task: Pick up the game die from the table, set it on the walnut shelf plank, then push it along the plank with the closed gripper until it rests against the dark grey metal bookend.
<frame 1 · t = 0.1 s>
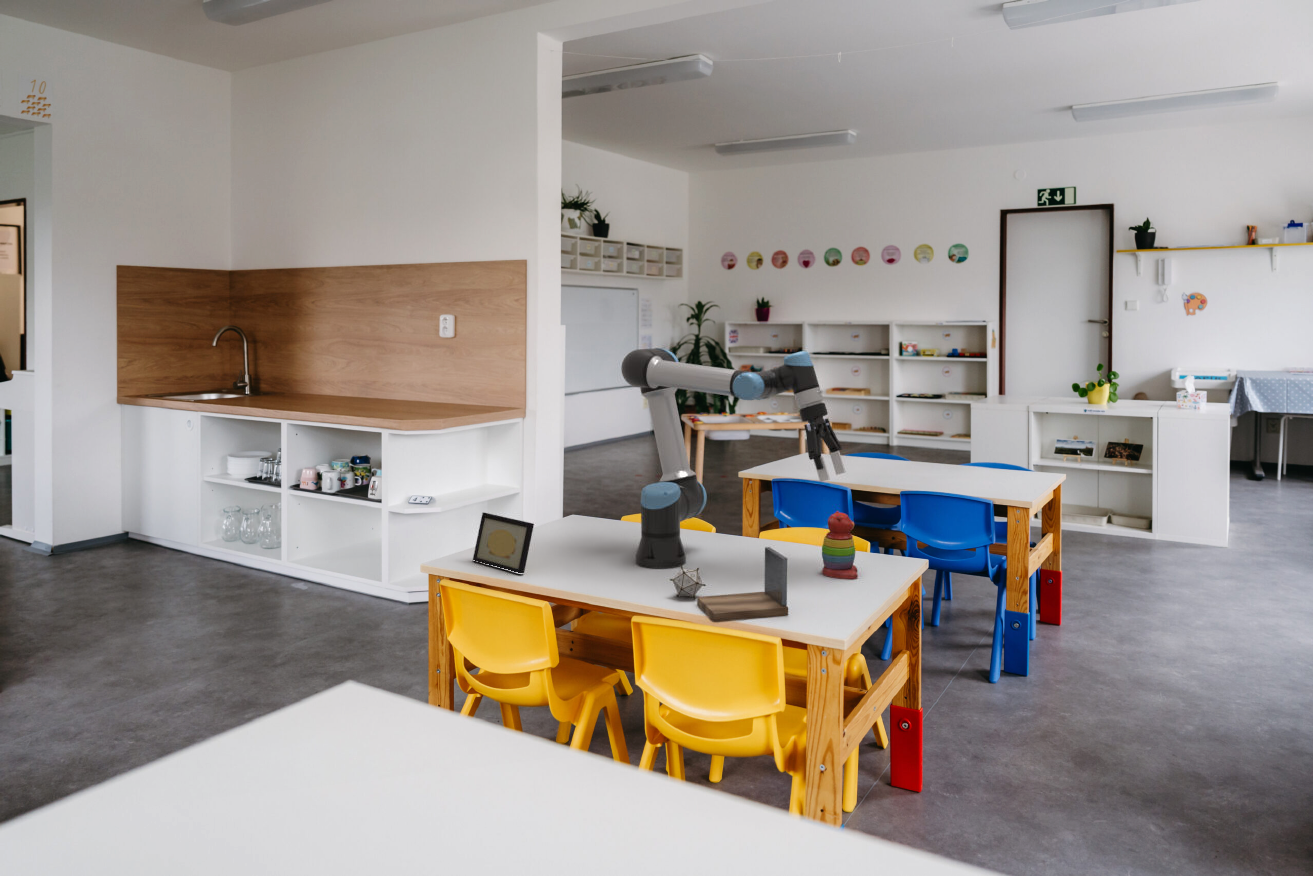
hand: (833, 477, 255), 28 cm above the table, fingers open, 13 cm apart
picture frame: (507, 566, 268), on the table
game die: (687, 597, 236), on the table
shelf plank: (741, 609, 225), on the table
stacking bear: (839, 574, 258), on the table
bookend: (775, 599, 227), resting on shelf plank
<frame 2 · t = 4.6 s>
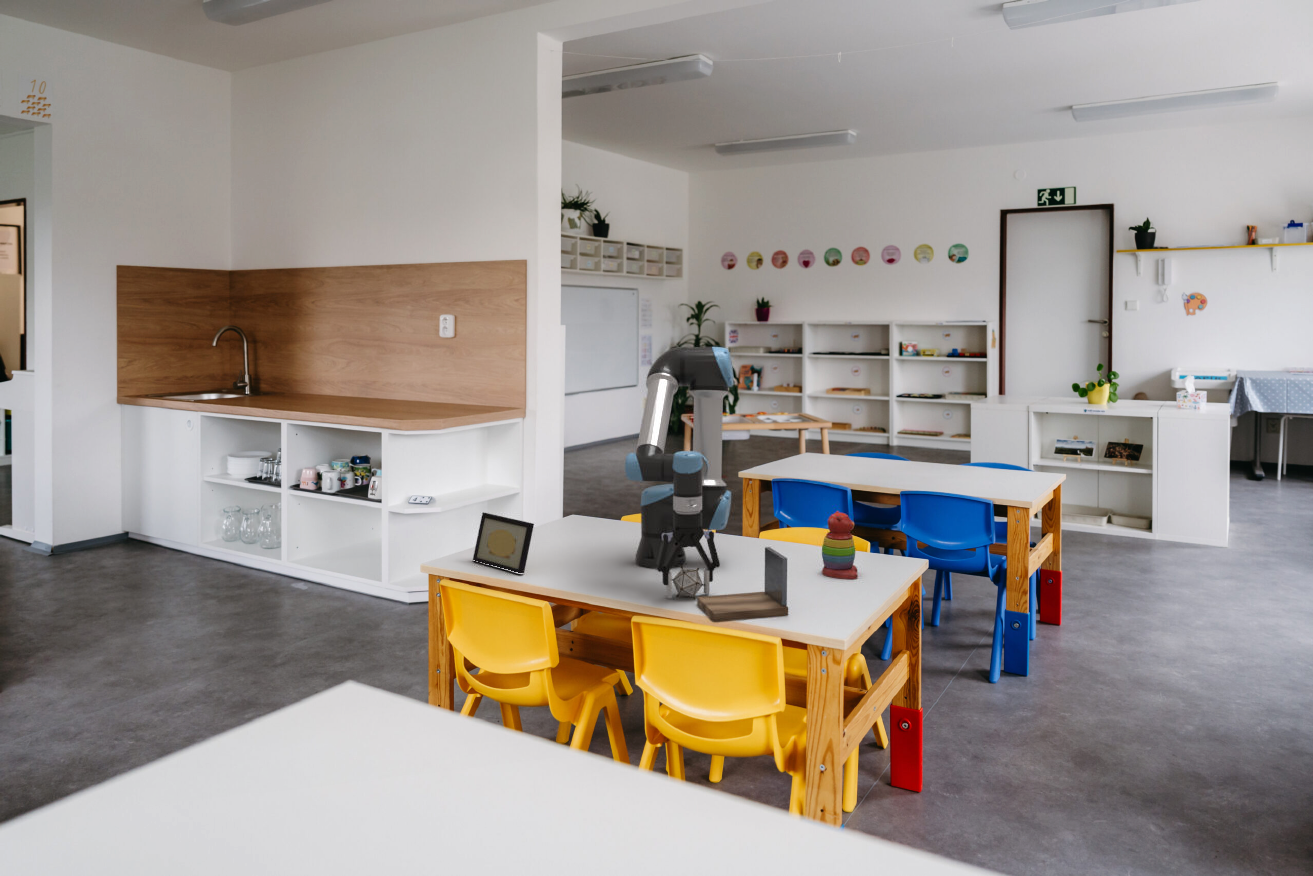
hand: (687, 595, 236), 0 cm above the table, fingers closed on game die, 9 cm apart
game die: (687, 597, 236), on the table, touching gripper
everything else where it was.
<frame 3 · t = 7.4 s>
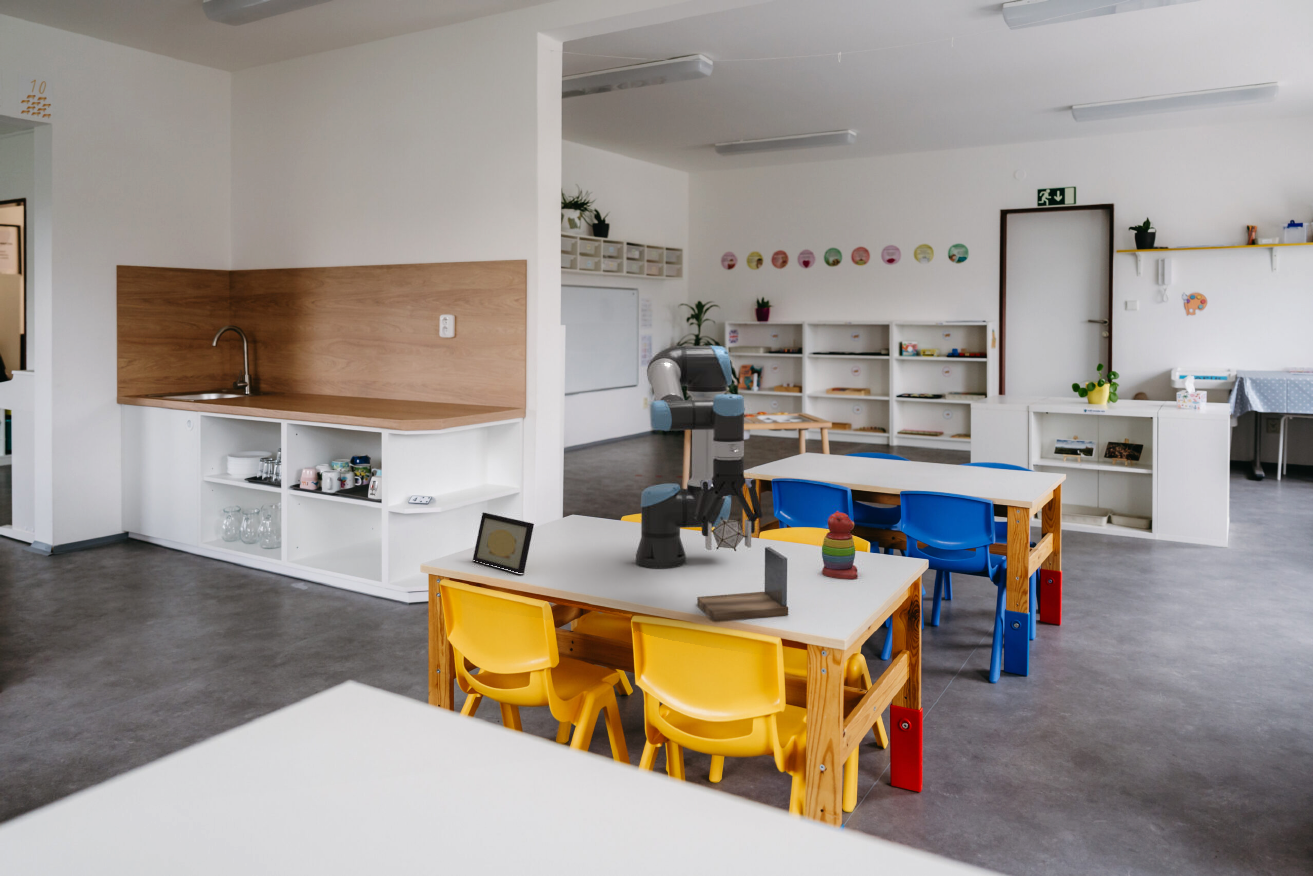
hand: (728, 547, 223), 16 cm above the table, fingers closed on game die, 9 cm apart
game die: (728, 550, 223), point 15 cm above the table, touching gripper
everything else where it was.
when the fingers open (4 cm above the table, at t = 10.2 s): game die drops 2 cm, resting on shelf plank.
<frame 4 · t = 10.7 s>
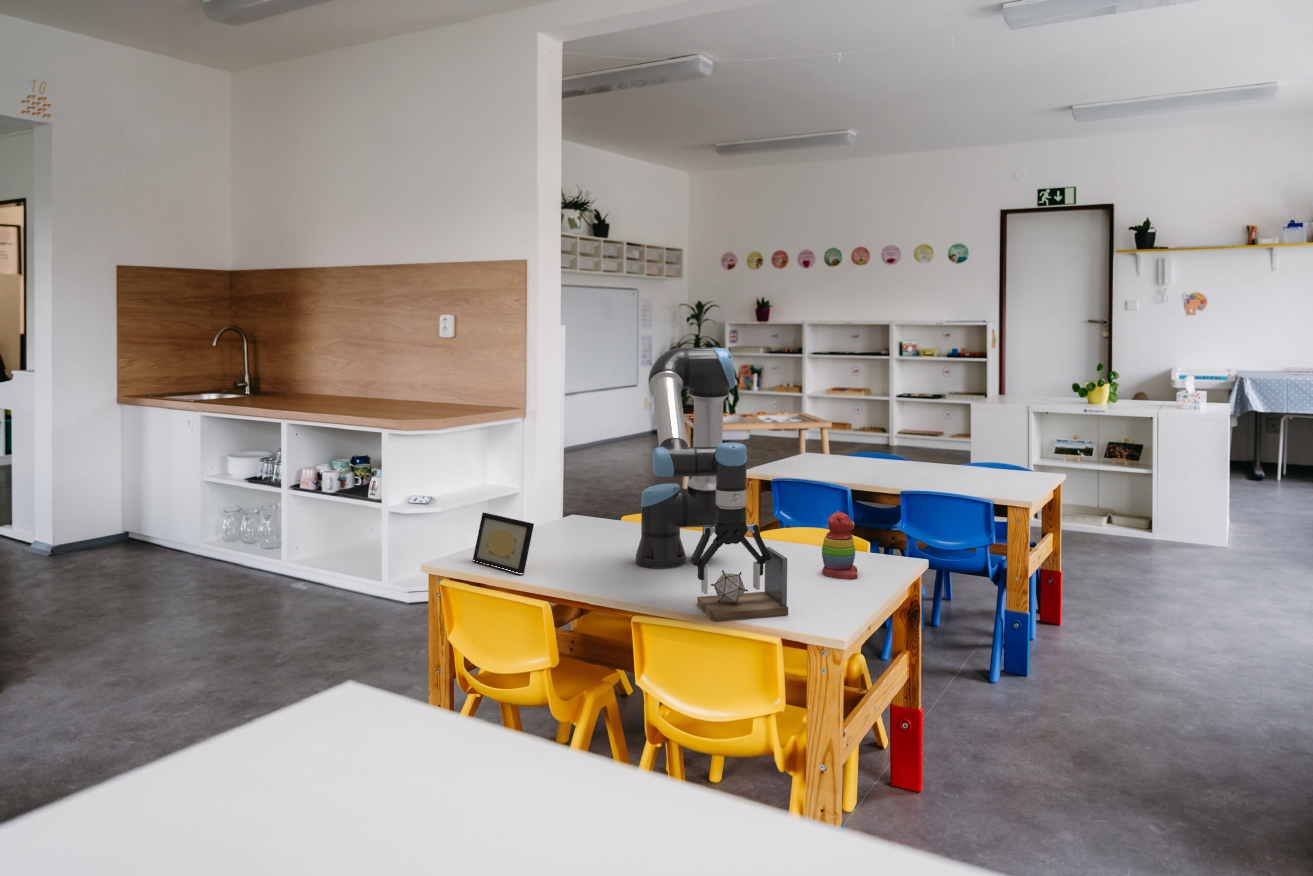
hand: (730, 590, 224), 5 cm above the table, fingers open, 13 cm apart
game die: (729, 603, 224), point 2 cm above the table, touching shelf plank
everything else where it was.
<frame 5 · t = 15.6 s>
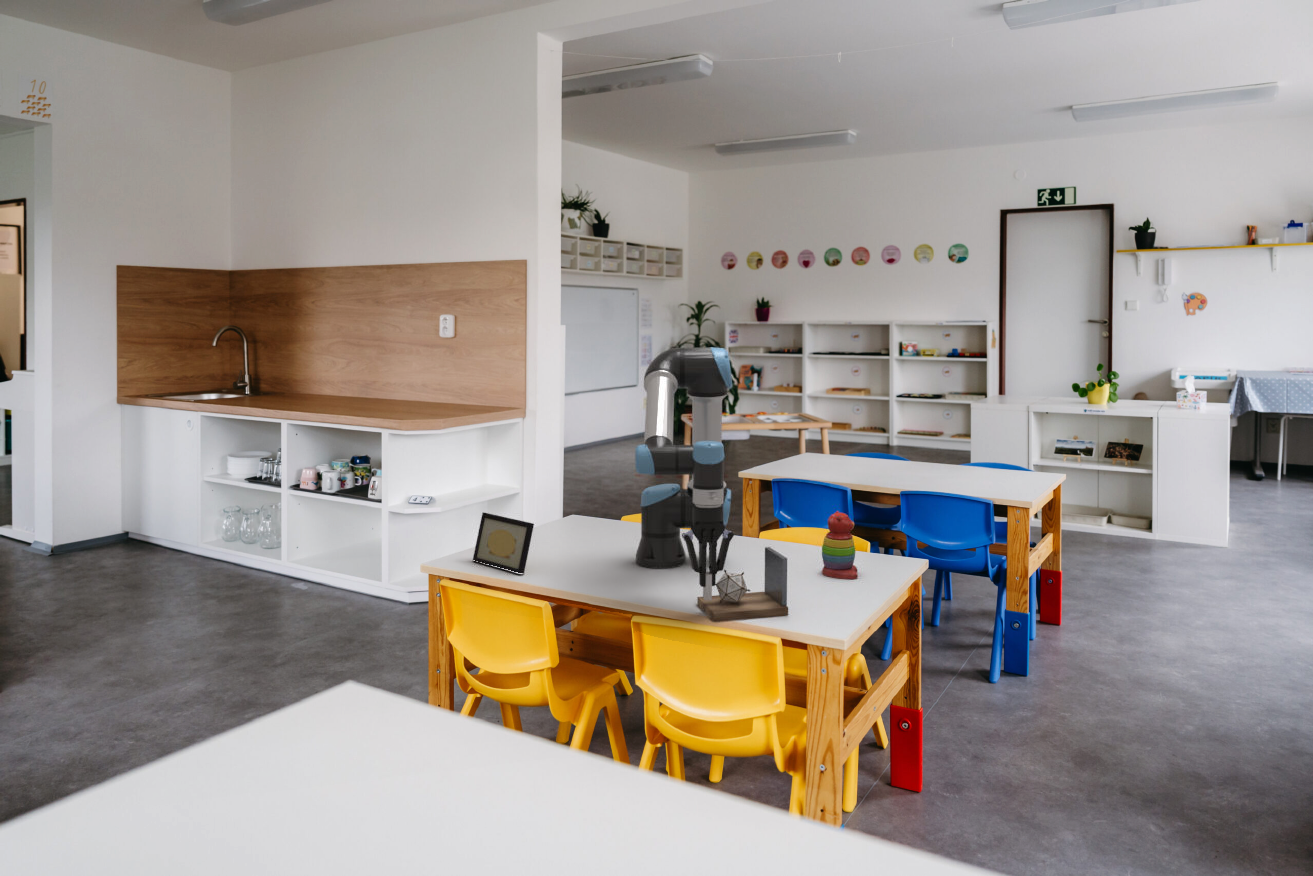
hand: (707, 598, 222), 4 cm above the table, fingers closed
game die: (731, 603, 224), point 2 cm above the table, touching gripper
everything else where it was.
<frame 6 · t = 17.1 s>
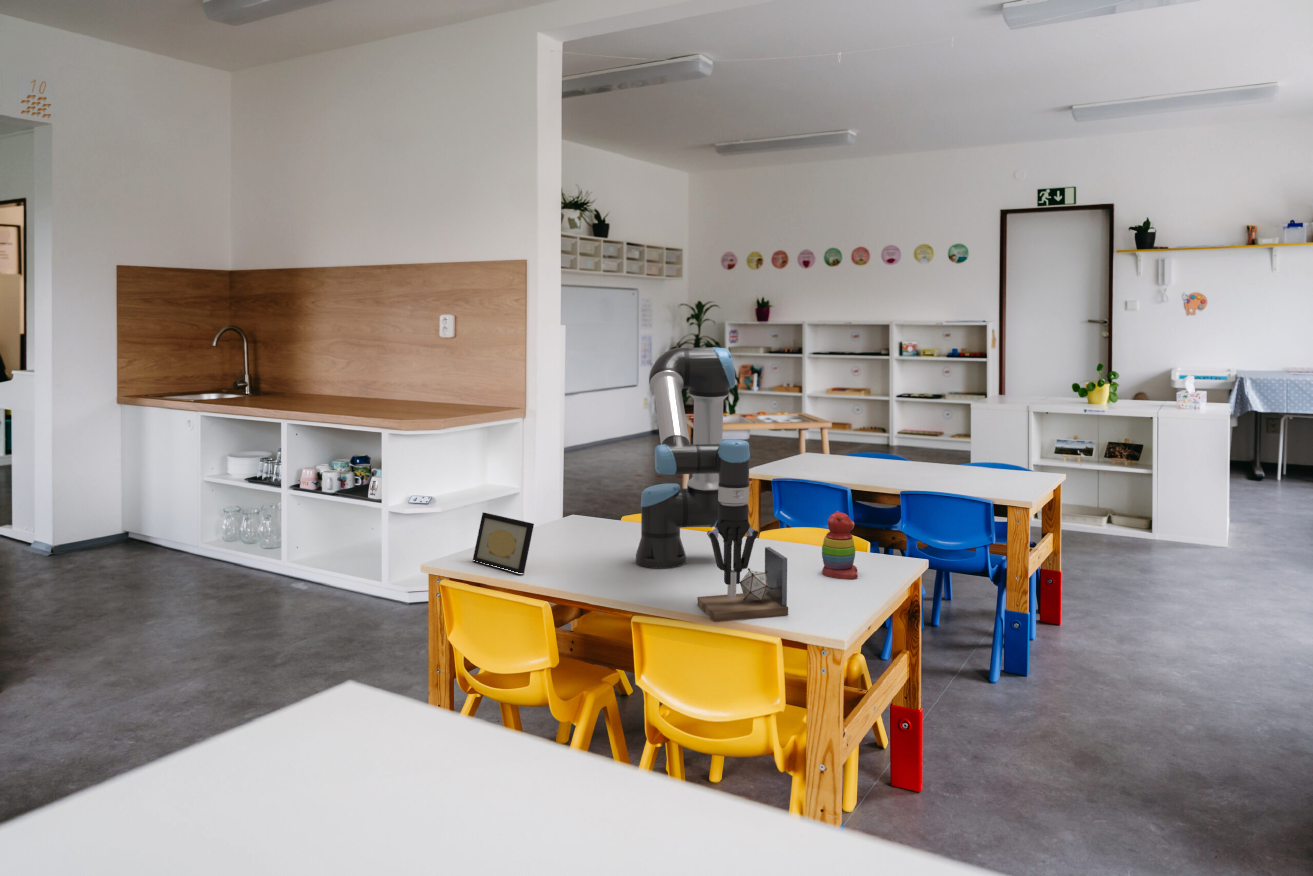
hand: (731, 596, 224), 4 cm above the table, fingers closed
game die: (754, 601, 226), point 2 cm above the table, touching bookend, gripper, shelf plank
everything else where it was.
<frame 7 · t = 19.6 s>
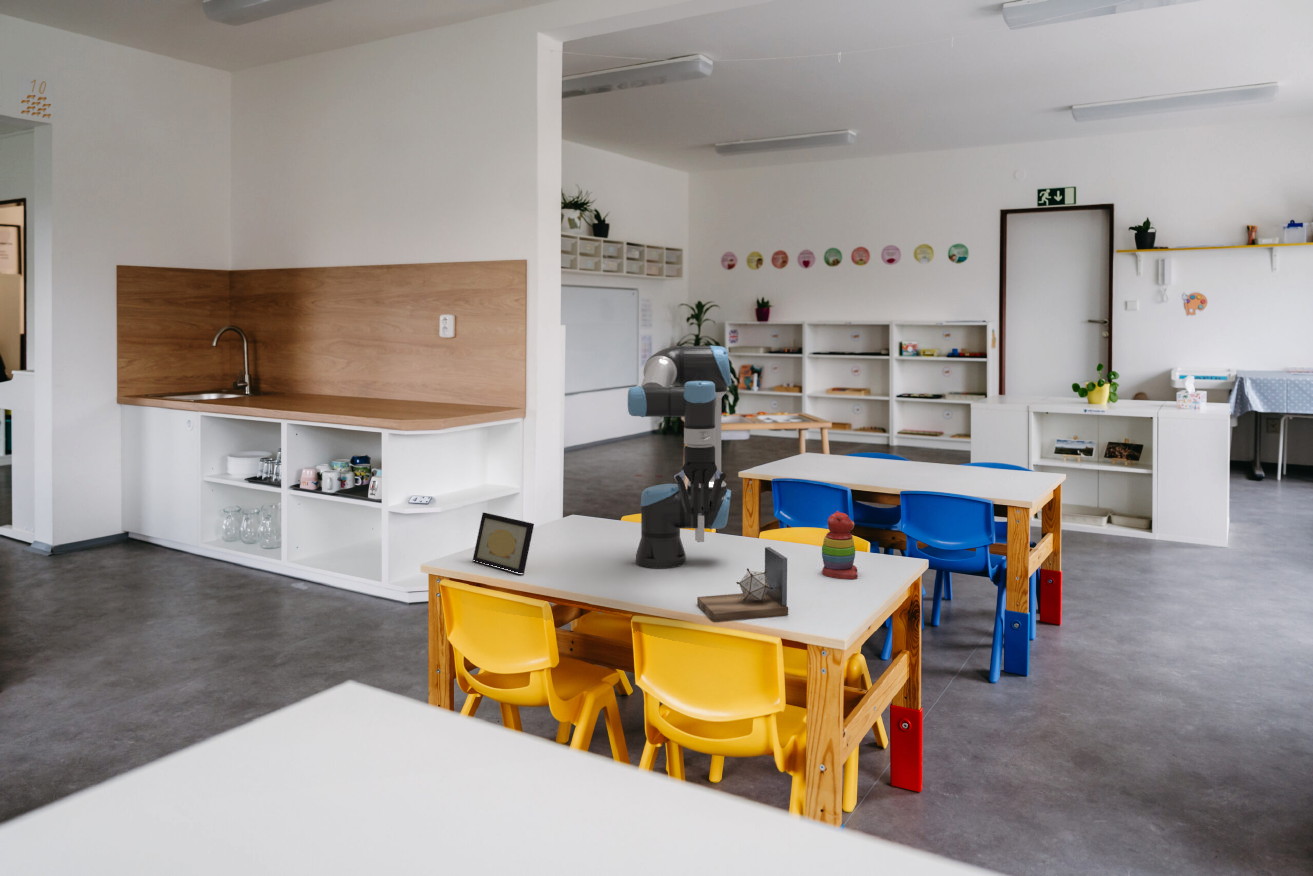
hand: (699, 540, 220), 18 cm above the table, fingers closed
game die: (754, 601, 226), point 2 cm above the table, touching shelf plank
everything else where it was.
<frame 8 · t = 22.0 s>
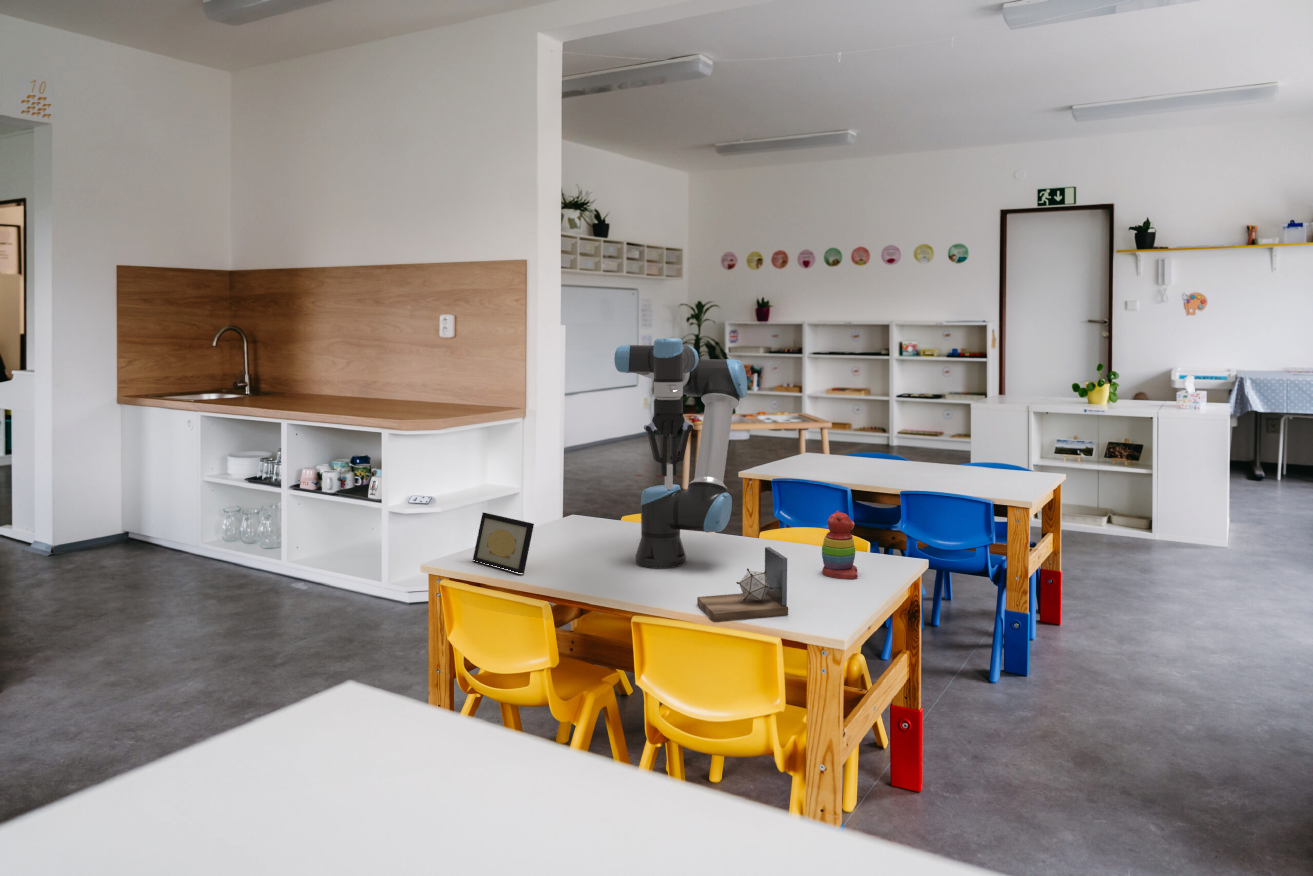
hand: (668, 488, 236), 28 cm above the table, fingers closed
nothing on the table moved.
at the end: game die inside the target area on the shelf plank (0.4 cm from its centre), point 1.8 cm above the shelf plank's base; game die tilted 0°; the gripper is holding nothing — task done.
